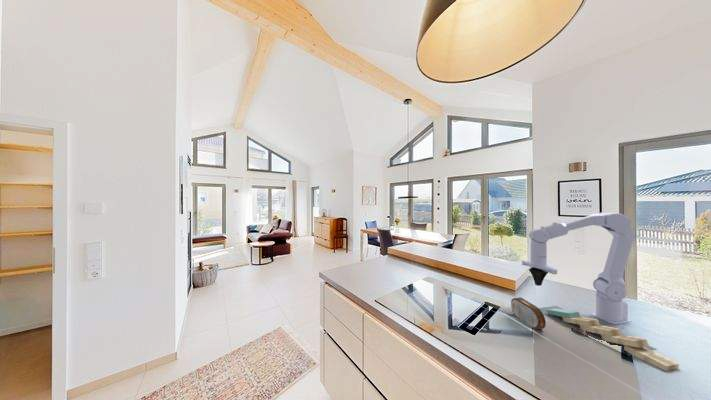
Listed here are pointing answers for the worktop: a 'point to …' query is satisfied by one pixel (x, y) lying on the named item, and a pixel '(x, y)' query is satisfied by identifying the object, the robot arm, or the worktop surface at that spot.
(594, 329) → the domino
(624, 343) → the domino
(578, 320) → the domino
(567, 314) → the domino
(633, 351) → the domino
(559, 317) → the felt mat
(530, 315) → the tin
